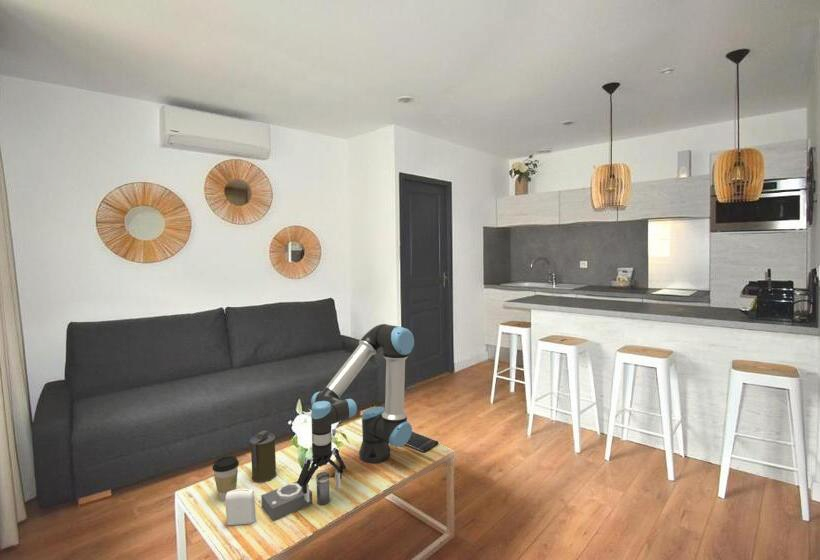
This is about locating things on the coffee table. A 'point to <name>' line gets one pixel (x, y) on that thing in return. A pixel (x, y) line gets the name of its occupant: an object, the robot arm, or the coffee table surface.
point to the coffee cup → (225, 475)
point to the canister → (263, 457)
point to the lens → (323, 488)
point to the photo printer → (240, 507)
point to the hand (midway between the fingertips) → (322, 493)
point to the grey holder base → (284, 500)
